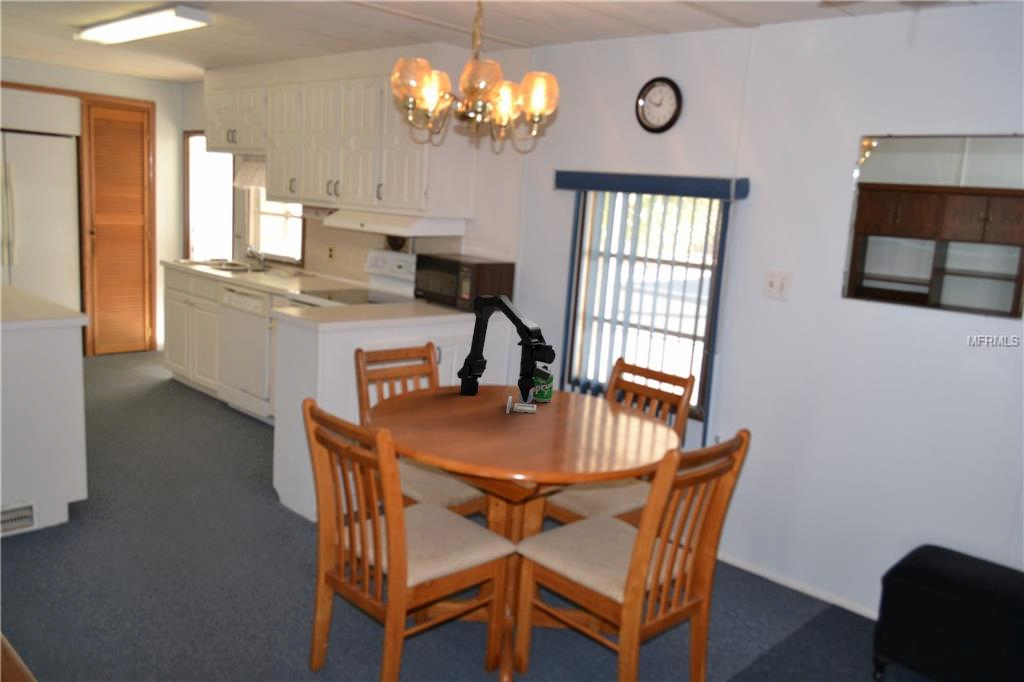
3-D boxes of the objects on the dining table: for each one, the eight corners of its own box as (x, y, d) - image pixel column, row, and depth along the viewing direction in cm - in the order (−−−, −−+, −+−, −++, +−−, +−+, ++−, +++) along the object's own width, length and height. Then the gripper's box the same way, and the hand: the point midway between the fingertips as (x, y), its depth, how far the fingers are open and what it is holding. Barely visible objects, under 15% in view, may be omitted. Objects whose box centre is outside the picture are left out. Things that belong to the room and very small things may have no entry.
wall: (506, 413, 289) (506, 405, 289) (508, 403, 303) (509, 396, 303) (509, 413, 289) (509, 405, 289) (511, 404, 303) (511, 396, 303)
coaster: (513, 411, 292) (513, 408, 292) (514, 406, 300) (515, 403, 300) (535, 413, 292) (535, 410, 292) (536, 407, 300) (536, 404, 300)
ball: (518, 404, 293) (519, 391, 292) (518, 401, 298) (519, 388, 297) (531, 405, 293) (532, 392, 292) (532, 402, 298) (533, 389, 297)
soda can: (529, 398, 313) (531, 368, 311) (546, 398, 317) (548, 368, 315) (537, 403, 307) (539, 373, 305) (555, 402, 310) (557, 372, 308)
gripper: (550, 365, 283) (547, 408, 286) (550, 356, 302) (547, 396, 304) (519, 363, 284) (516, 406, 286) (521, 353, 302) (518, 394, 305)
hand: (525, 400), depth 296 cm, fingers closed on ball, 5 cm apart
